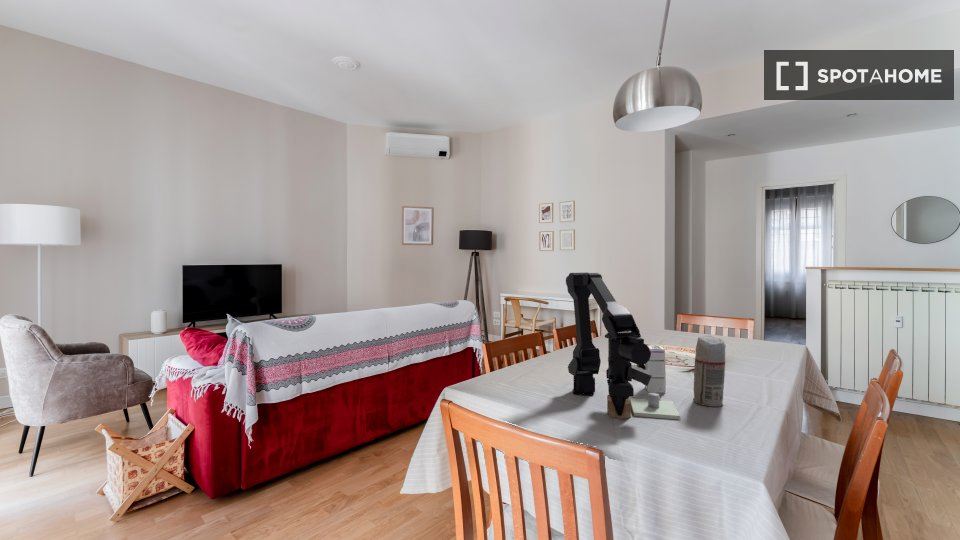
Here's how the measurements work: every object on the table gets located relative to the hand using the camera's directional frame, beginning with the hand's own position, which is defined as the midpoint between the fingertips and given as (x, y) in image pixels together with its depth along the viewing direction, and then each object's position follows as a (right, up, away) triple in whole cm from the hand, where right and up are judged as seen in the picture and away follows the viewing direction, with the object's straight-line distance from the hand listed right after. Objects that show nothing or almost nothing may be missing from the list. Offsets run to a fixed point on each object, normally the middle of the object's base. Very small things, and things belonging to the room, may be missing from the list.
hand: (618, 411), depth 120 cm
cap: (0, -1, 0) cm, 1 cm away
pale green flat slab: (+11, -1, +3) cm, 12 cm away
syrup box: (+19, 0, +21) cm, 28 cm away
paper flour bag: (+30, -1, +9) cm, 31 cm away
